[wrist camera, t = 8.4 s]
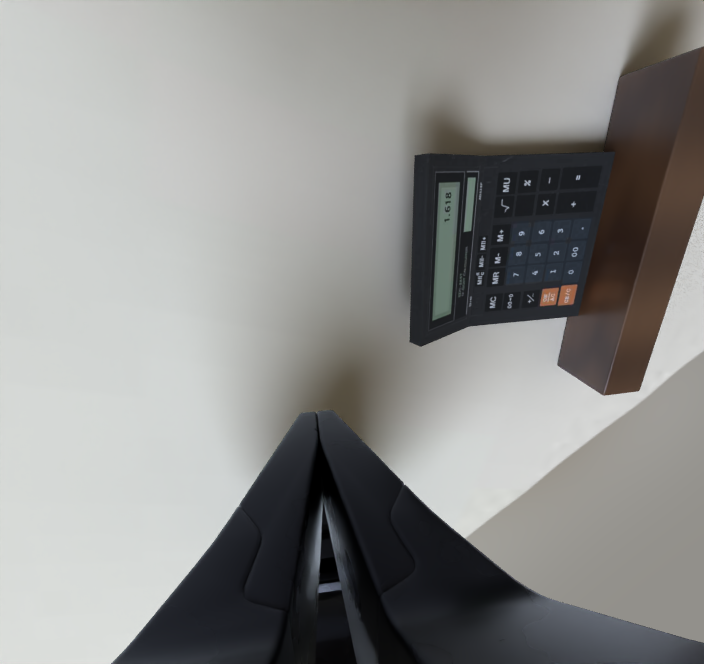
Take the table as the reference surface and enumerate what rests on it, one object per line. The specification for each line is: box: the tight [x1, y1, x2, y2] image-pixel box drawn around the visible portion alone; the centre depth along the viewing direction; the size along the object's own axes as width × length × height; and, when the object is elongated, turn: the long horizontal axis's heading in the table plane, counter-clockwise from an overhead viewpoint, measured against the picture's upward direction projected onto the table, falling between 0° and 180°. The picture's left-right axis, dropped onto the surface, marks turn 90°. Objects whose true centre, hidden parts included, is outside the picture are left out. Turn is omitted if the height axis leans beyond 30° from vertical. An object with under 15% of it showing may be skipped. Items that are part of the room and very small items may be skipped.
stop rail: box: [558, 47, 704, 395], centre depth 19 cm, size 17×2×4 cm, turn 2°
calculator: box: [410, 152, 615, 346], centre depth 19 cm, size 9×12×3 cm
